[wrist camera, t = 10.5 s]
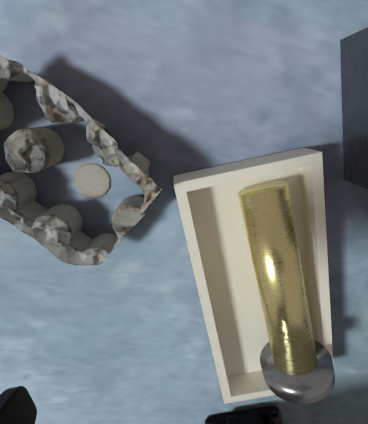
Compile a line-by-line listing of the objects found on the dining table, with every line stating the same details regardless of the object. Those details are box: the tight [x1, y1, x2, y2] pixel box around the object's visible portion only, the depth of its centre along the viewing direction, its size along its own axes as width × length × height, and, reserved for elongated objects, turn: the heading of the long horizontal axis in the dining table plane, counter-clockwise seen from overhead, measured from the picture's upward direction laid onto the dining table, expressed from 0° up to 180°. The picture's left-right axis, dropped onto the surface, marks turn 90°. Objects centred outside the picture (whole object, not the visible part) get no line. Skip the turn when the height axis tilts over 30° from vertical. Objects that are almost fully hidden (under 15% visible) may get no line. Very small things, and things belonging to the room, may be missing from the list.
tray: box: [173, 148, 333, 404], centre depth 19 cm, size 17×8×2 cm, turn 12°
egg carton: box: [0, 56, 162, 265], centre depth 16 cm, size 11×8×4 cm
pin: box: [238, 181, 335, 404], centre depth 18 cm, size 13×5×5 cm, turn 14°
